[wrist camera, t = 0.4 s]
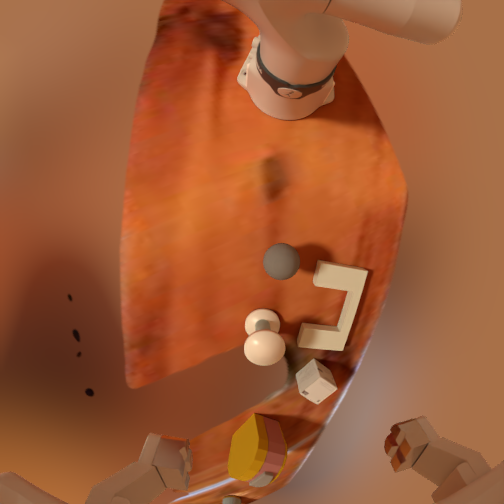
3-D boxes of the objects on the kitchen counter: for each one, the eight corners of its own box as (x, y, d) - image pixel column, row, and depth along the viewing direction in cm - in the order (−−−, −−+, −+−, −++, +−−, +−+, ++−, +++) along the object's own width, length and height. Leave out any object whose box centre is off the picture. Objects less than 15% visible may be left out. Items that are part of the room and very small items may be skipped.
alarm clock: (255, 446, 63) (256, 496, 45) (229, 438, 62) (226, 489, 44) (285, 418, 61) (292, 473, 43) (257, 408, 60) (259, 465, 42)
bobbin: (248, 305, 54) (248, 329, 44) (282, 310, 54) (289, 334, 44) (242, 335, 55) (241, 362, 45) (275, 340, 55) (280, 367, 46)
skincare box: (330, 369, 57) (338, 388, 50) (311, 385, 58) (317, 405, 51) (313, 357, 56) (320, 376, 49) (294, 374, 57) (299, 394, 50)
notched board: (317, 259, 52) (321, 262, 49) (363, 267, 52) (367, 271, 50) (296, 340, 55) (298, 346, 53) (339, 345, 56) (342, 350, 53)
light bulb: (299, 257, 52) (310, 271, 42) (272, 273, 52) (277, 291, 43) (282, 230, 51) (290, 239, 41) (255, 248, 51) (256, 260, 41)
